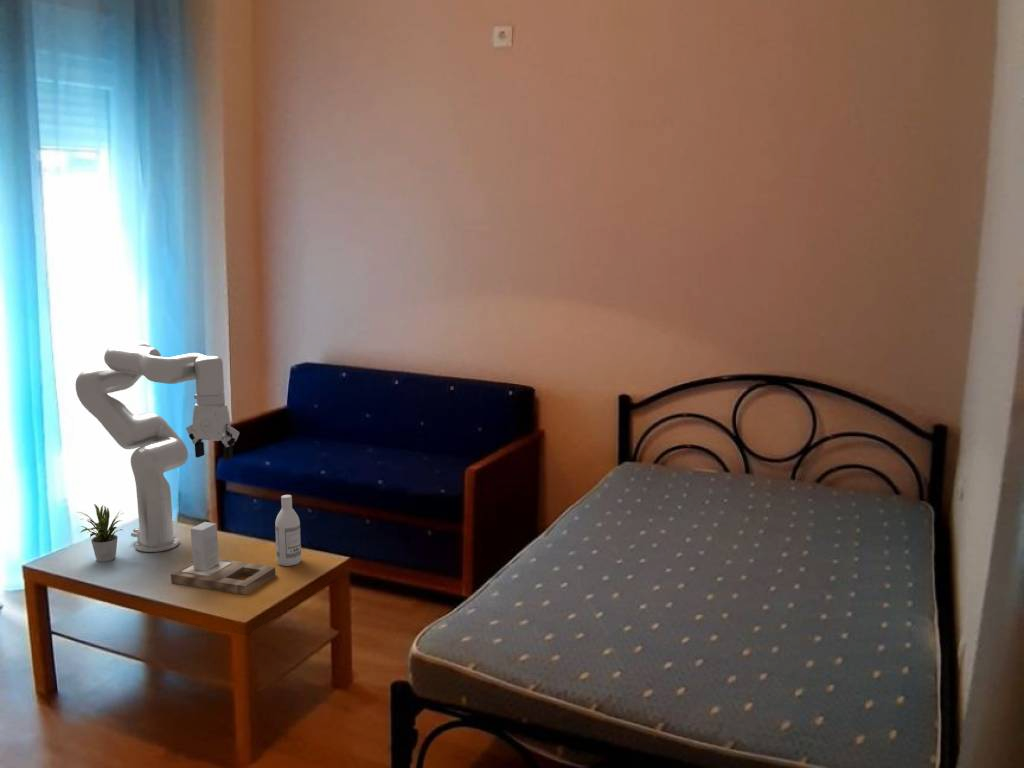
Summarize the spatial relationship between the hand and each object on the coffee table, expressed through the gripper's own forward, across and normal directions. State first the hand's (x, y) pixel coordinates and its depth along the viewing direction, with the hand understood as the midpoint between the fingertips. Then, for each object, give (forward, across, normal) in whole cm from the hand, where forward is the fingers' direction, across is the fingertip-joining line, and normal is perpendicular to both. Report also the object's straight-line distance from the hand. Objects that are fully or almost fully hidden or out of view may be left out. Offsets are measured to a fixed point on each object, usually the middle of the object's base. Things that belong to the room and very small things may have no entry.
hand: (214, 457), depth 266 cm
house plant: (+31, -32, -12) cm, 46 cm away
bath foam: (+31, +21, +4) cm, 37 cm away
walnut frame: (+30, +11, -13) cm, 35 cm away
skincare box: (+28, +5, -13) cm, 31 cm away
